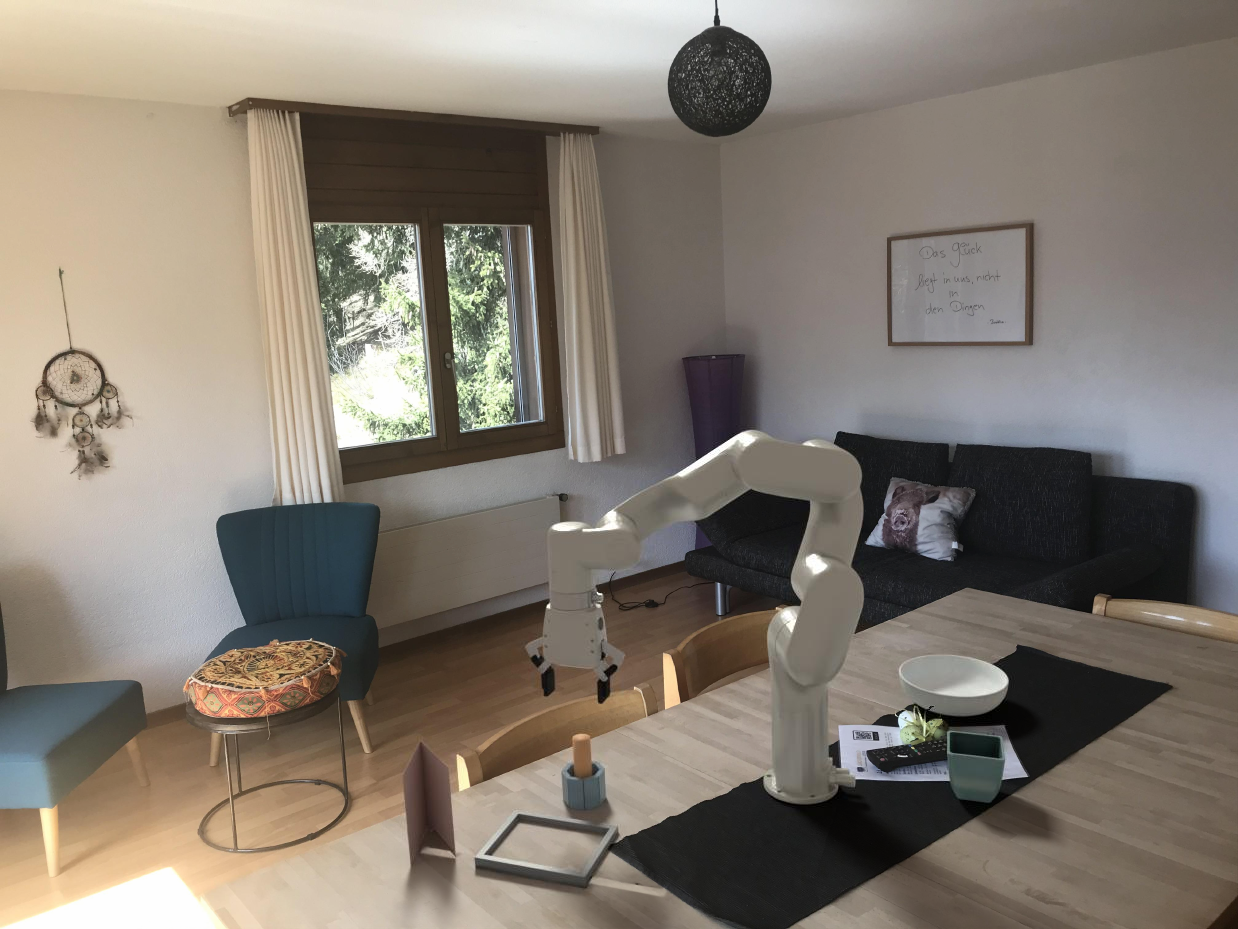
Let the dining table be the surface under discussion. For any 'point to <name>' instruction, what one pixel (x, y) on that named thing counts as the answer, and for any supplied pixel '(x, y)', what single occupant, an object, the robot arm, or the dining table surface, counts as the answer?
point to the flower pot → (975, 765)
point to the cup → (584, 787)
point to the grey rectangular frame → (543, 871)
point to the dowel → (582, 756)
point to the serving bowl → (953, 684)
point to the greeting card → (427, 798)
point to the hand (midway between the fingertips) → (576, 697)
